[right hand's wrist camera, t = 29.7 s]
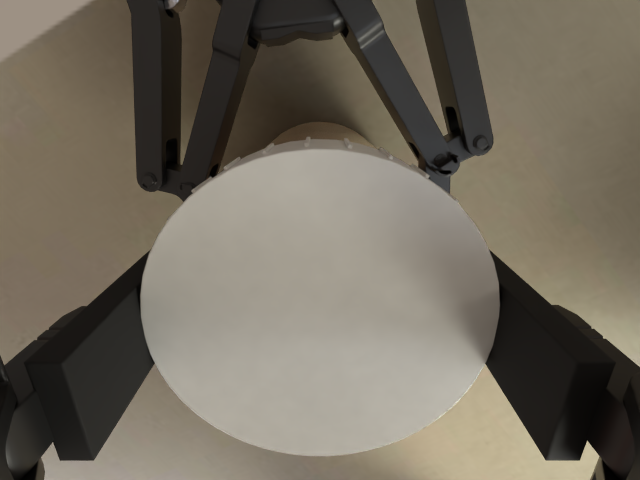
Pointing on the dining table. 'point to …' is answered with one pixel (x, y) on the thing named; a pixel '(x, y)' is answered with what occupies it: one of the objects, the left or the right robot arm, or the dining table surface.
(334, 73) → the dining table surface
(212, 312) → the lid
